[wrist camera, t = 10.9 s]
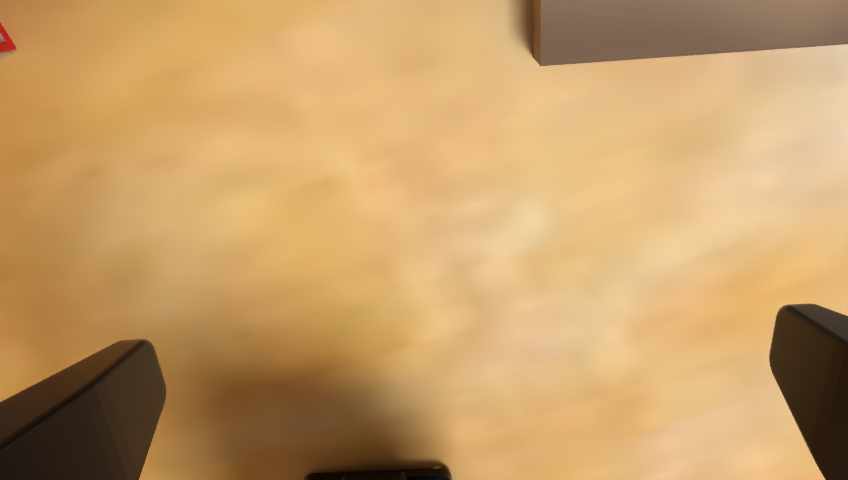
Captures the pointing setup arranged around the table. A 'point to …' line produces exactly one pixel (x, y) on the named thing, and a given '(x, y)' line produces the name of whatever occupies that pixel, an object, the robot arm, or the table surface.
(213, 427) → the table surface
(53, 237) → the table surface
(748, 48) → the tower base slab
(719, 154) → the table surface
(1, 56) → the stack of blocks
